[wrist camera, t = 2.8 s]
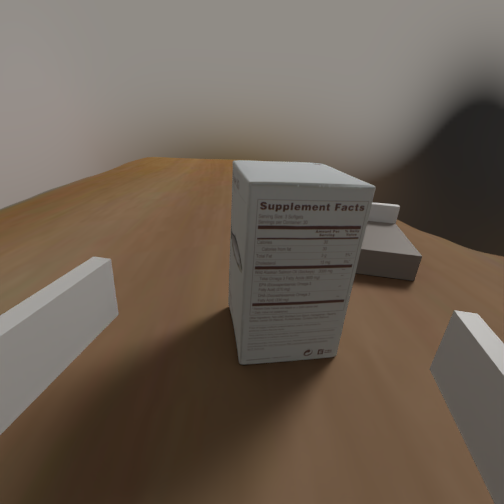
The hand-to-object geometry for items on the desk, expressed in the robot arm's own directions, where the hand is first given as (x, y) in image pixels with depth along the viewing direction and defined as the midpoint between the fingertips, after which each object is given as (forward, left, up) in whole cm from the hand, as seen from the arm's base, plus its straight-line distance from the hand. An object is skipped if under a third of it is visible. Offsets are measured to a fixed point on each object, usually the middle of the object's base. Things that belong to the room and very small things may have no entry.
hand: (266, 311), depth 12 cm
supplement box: (0, -10, -9) cm, 13 cm away
